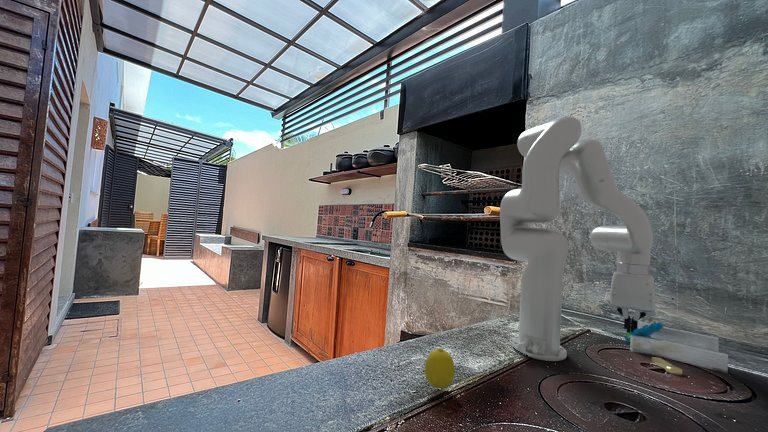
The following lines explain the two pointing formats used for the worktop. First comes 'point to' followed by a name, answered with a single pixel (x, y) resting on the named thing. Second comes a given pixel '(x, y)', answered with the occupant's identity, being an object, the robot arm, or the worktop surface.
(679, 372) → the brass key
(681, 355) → the channel
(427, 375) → the lemon
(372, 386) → the worktop surface
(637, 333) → the blue green toy animal
